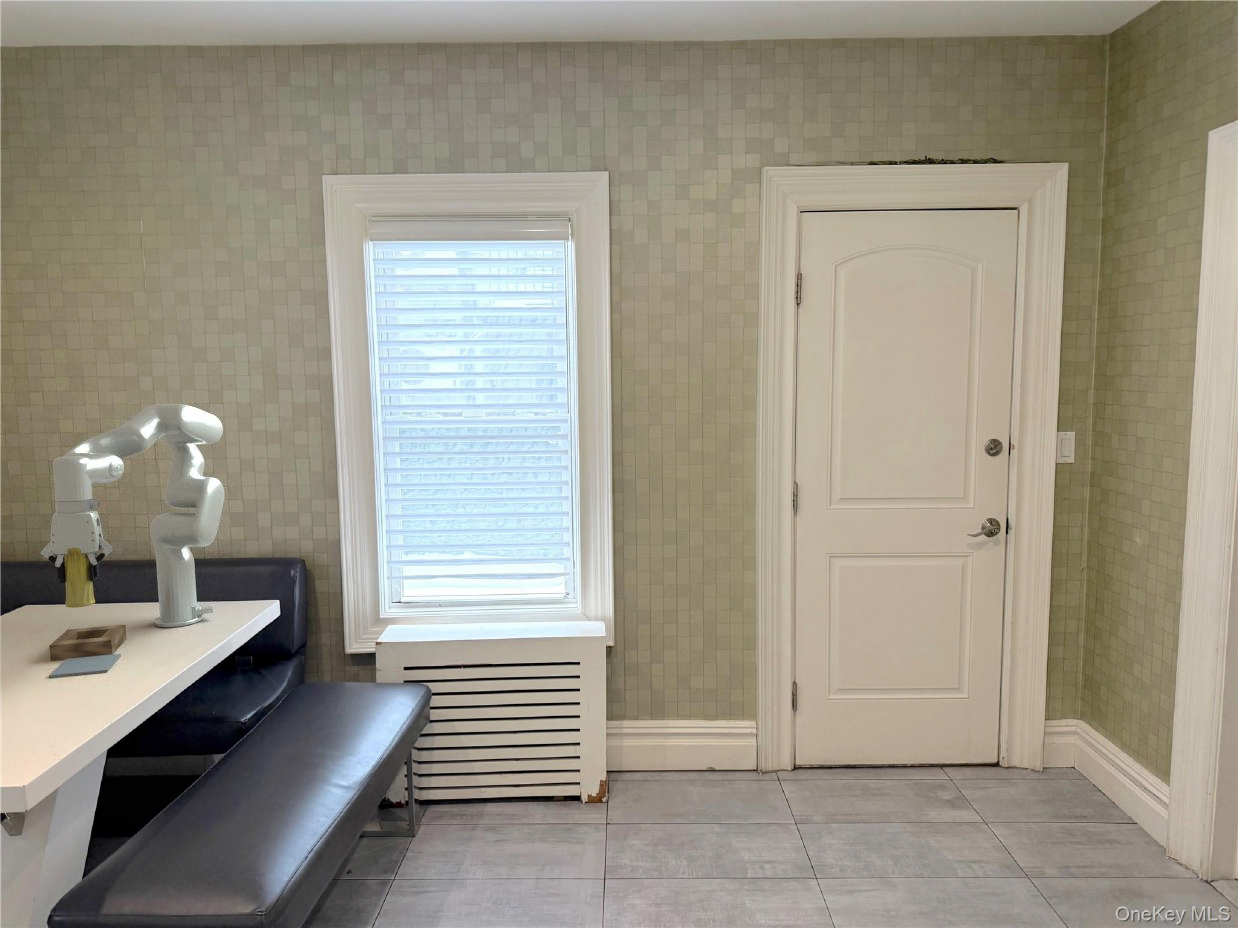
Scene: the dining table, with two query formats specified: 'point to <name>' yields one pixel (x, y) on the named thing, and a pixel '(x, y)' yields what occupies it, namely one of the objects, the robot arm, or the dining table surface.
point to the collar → (88, 642)
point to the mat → (85, 665)
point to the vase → (78, 579)
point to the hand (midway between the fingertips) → (79, 580)
